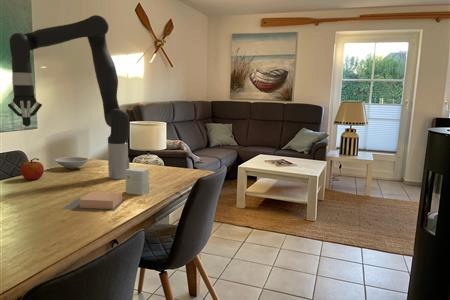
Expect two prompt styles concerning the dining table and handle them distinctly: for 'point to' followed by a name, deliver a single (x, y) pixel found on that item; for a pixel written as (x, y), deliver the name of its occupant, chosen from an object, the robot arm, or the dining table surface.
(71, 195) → the dining table surface
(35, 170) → the fruit
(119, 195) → the pink rectangular block
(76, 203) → the mat
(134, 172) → the small box
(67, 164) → the dish
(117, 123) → the robot arm
